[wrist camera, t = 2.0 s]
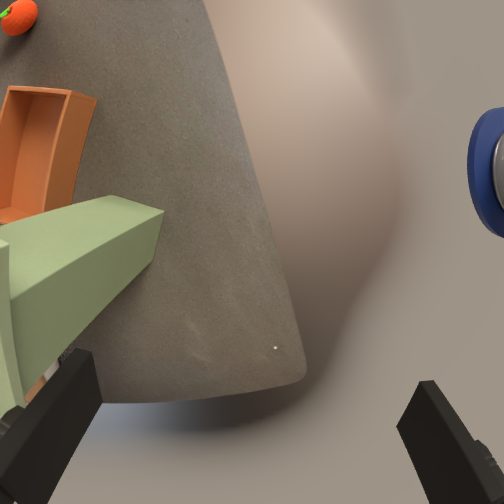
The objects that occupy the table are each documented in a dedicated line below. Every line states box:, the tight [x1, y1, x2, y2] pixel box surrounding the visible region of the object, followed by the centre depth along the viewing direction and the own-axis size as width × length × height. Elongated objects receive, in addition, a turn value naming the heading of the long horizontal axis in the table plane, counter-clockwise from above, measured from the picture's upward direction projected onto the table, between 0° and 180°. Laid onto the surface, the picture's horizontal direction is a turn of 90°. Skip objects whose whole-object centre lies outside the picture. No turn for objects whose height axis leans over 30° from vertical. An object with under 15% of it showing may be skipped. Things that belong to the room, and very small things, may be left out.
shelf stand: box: [0, 195, 164, 419], centre depth 24 cm, size 12×10×30 cm
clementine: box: [0, 0, 38, 36], centre depth 25 cm, size 8×7×7 cm
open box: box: [0, 86, 97, 225], centre depth 32 cm, size 19×13×7 cm
